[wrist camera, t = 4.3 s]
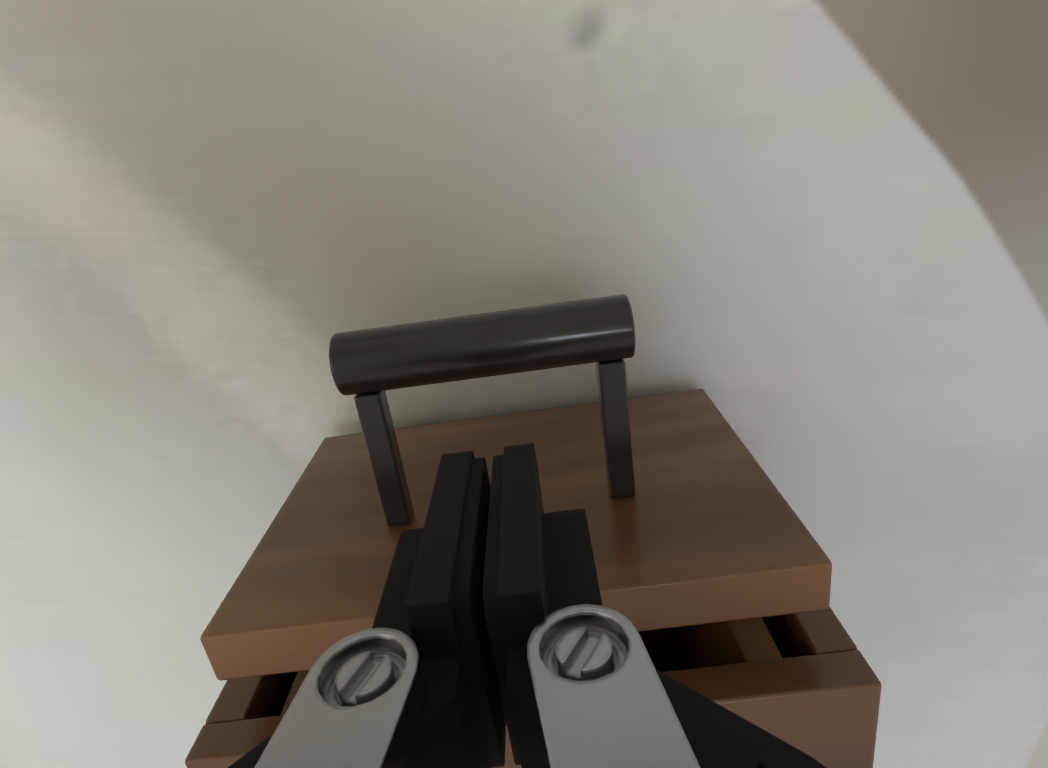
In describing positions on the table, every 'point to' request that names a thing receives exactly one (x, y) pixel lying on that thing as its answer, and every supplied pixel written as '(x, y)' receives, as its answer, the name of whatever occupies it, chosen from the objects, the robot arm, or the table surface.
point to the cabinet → (744, 688)
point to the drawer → (566, 483)
